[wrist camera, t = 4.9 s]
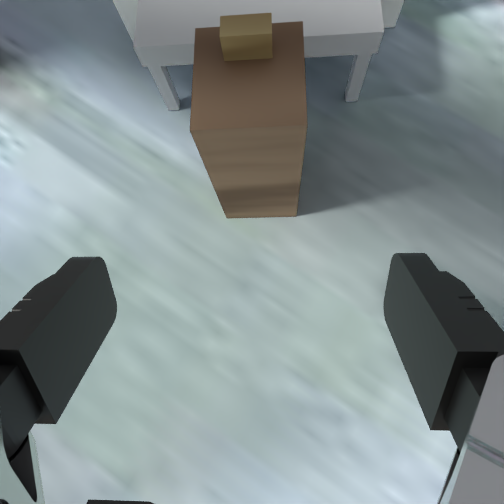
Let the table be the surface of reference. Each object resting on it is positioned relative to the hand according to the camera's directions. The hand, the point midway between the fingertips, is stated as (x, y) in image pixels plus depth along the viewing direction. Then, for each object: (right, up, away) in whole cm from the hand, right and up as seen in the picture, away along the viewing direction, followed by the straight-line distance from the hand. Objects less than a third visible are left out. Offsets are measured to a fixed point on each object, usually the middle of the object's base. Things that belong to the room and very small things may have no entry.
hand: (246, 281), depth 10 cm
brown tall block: (+1, +6, +14) cm, 15 cm away
